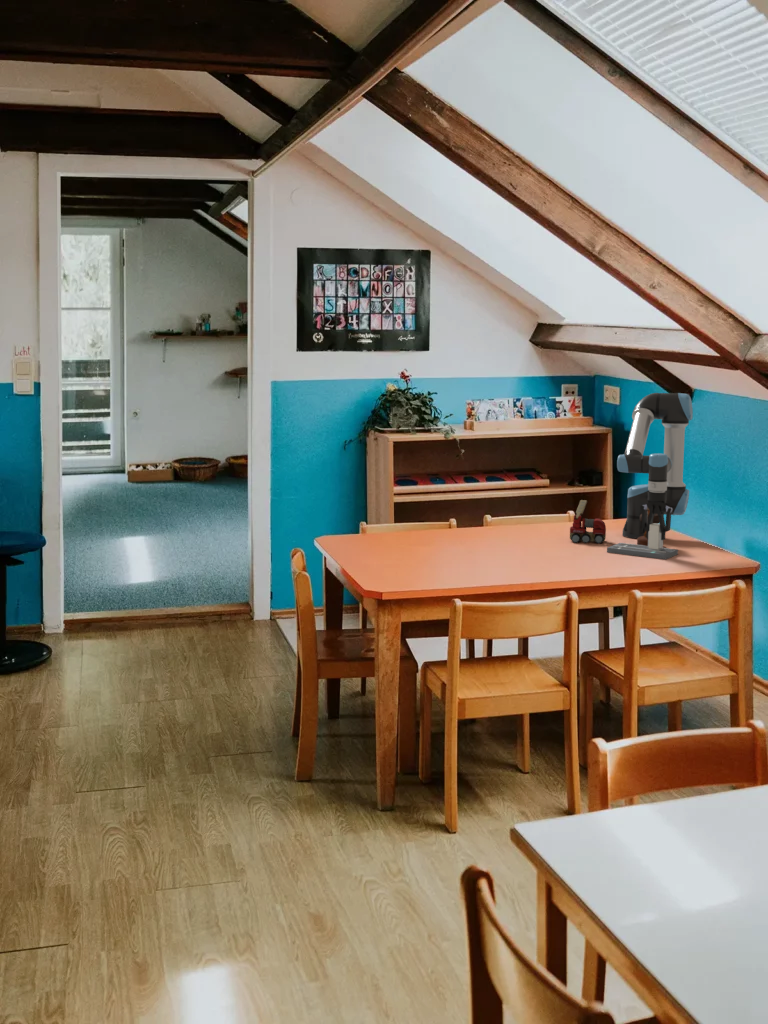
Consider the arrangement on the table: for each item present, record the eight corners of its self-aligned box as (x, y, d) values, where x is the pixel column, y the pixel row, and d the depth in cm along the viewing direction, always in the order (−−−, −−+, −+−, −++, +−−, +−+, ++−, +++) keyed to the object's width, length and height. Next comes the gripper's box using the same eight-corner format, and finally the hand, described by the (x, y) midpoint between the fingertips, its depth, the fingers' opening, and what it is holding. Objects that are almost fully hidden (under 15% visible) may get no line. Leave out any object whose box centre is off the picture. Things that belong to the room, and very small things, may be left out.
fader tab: (651, 547, 467) (652, 522, 465) (663, 549, 464) (664, 524, 462) (647, 549, 463) (647, 524, 461) (658, 551, 460) (659, 525, 458)
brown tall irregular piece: (662, 549, 474) (659, 503, 471) (636, 550, 477) (633, 504, 474) (664, 543, 488) (661, 498, 485) (638, 543, 492) (636, 499, 489)
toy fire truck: (605, 544, 487) (606, 504, 484) (569, 542, 491) (570, 503, 488) (606, 539, 498) (607, 500, 495) (570, 538, 502) (571, 499, 499)
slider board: (619, 547, 480) (620, 541, 479) (677, 554, 464) (678, 548, 464) (606, 552, 469) (607, 546, 469) (665, 559, 454) (665, 553, 454)
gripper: (634, 490, 461) (632, 545, 465) (673, 494, 451) (671, 550, 455) (641, 488, 467) (639, 543, 471) (680, 491, 457) (678, 547, 461)
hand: (655, 546), depth 463 cm, fingers closed on fader tab, 4 cm apart
